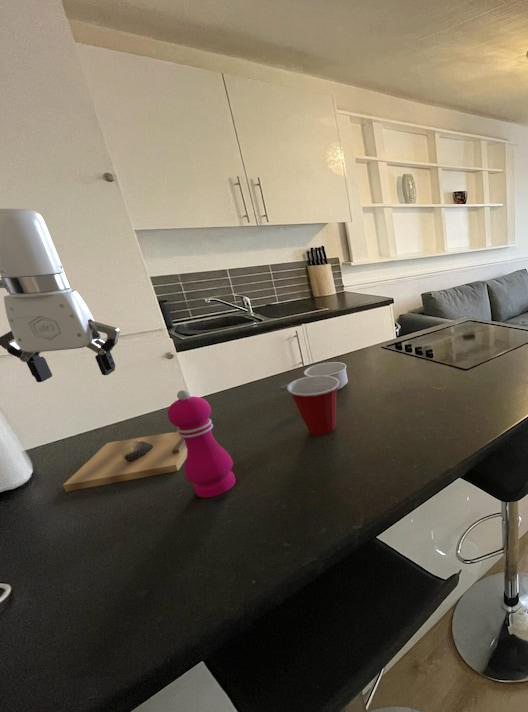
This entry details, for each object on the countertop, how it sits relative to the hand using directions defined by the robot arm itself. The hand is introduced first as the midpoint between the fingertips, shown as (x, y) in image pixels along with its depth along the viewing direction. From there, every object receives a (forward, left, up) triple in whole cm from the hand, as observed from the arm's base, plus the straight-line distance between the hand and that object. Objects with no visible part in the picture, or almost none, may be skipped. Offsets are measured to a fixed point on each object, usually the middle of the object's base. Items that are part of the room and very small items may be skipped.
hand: (77, 376), depth 77 cm
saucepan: (+37, +23, -20) cm, 48 cm away
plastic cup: (+40, -1, -20) cm, 45 cm away
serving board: (+4, 0, -20) cm, 20 cm away
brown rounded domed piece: (+4, 0, -19) cm, 19 cm away
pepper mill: (+22, -17, -20) cm, 34 cm away
